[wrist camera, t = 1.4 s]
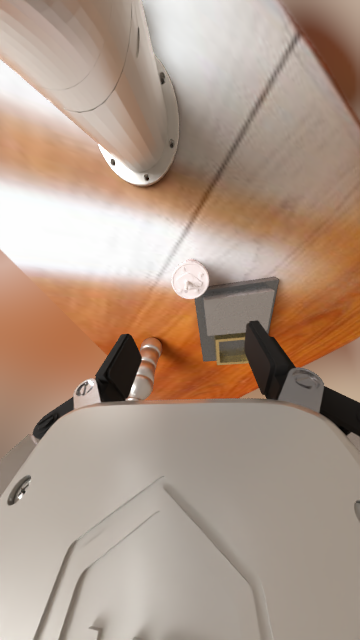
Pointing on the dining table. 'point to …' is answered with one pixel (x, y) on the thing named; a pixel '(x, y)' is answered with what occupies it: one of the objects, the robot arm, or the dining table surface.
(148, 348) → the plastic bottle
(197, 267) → the smoothie
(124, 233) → the dining table surface
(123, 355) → the robot arm
